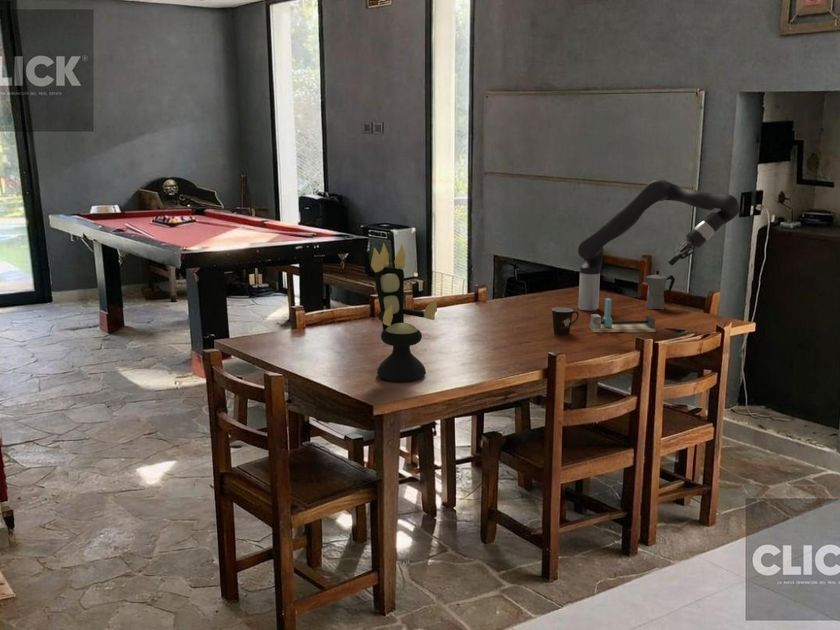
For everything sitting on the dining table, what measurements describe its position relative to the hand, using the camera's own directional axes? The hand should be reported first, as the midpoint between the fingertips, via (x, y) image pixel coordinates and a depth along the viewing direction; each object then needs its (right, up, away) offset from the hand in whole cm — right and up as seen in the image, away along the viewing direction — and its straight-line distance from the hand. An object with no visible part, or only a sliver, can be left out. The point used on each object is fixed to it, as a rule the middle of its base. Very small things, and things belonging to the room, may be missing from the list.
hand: (669, 263), depth 354 cm
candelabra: (-113, -42, -62) cm, 136 cm away
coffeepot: (+8, -18, +48) cm, 52 cm away
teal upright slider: (-26, -26, +2) cm, 37 cm away
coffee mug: (-44, -29, -2) cm, 53 cm away
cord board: (-19, -28, +3) cm, 34 cm away
